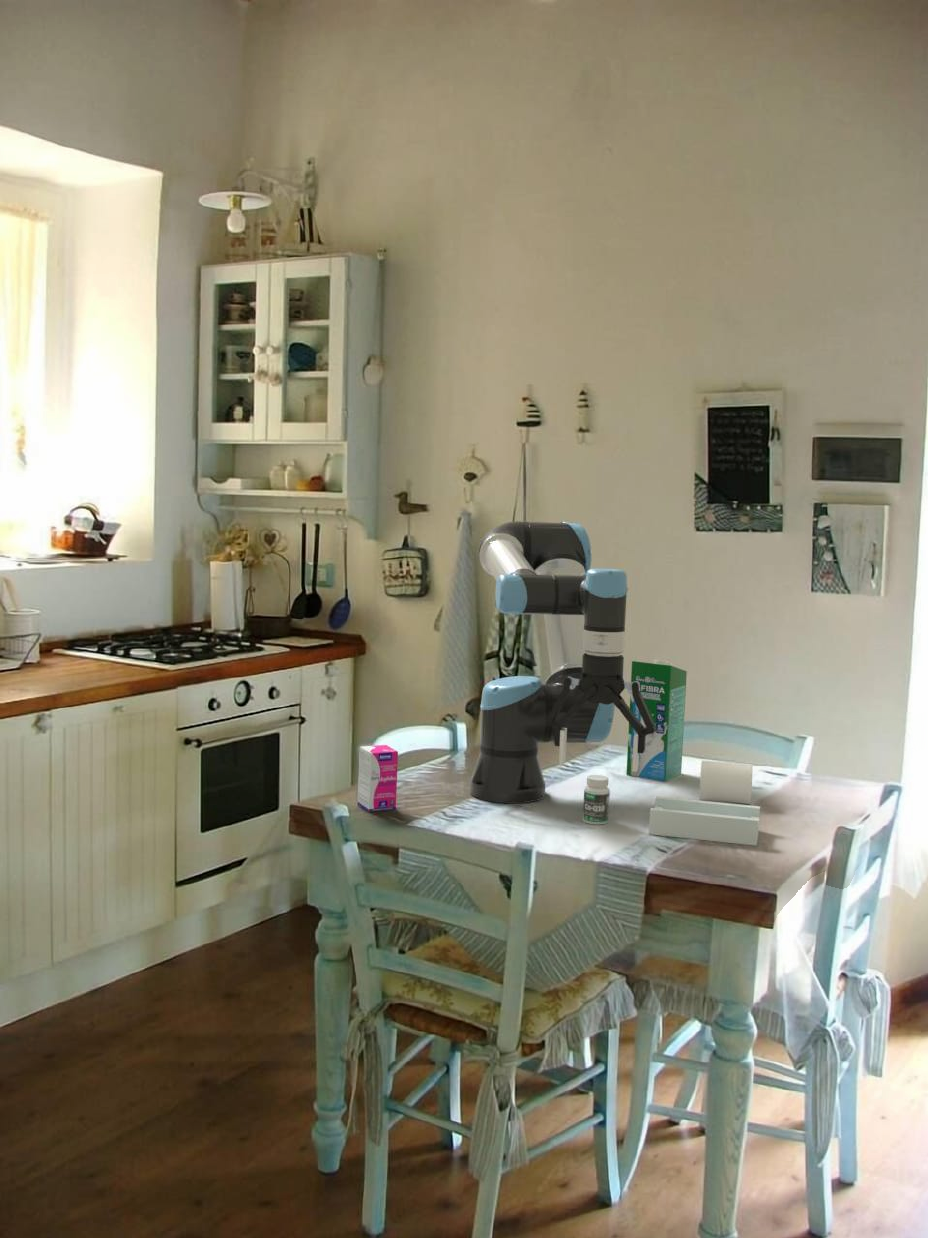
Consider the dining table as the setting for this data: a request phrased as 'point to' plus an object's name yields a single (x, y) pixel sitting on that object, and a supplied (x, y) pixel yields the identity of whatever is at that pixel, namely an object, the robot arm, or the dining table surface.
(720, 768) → the mug
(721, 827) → the tray
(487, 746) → the robot arm
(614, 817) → the dining table surface
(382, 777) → the supplement box
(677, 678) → the milk carton
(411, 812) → the dining table surface
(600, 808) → the pill bottle
